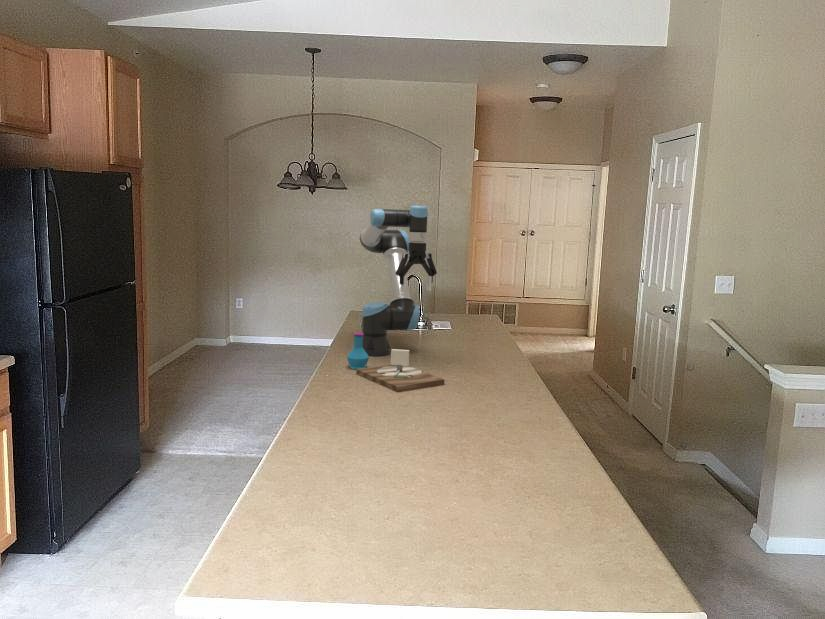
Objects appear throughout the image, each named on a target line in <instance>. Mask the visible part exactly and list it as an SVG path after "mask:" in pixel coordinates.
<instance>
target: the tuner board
mask: <svg viewBox="0 0 825 619" xmlns="http://www.w3.org/2000/svg"><path fill="white" fill-rule="evenodd" d="M355 371H356V372H355V373H356V375H358V376H360V377H362V378H364V379H367V380H369V381H372V382H374V383H376V384H379V385H381V386H383V387H385V388H387V389H390V390H392V391H394V392H396V393H401V392H407V391H413V390H418V389H425V388H426V389H427V388H430V387H431V388H432V387H437V386H444V385H445V381H446V380H445V379H444V378H441V377H439V376H436V375H434V374H430V373H428V372H426V371H423V370H421V369H419V368H416V367H412V366H410V365H408V366H403V371H402V372H399V373H398V374H397V376H394V375H395V373H396V372H397V365H391V364H387V365H386V364H385V365H379V366H369V367H366V368H361V369H355Z"/></svg>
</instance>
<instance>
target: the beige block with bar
mask: <svg viewBox="0 0 825 619" xmlns="http://www.w3.org/2000/svg"><path fill="white" fill-rule="evenodd" d="M409 360H410V350H409V349H398V348H397V349H396V348H391V349H390V365H397V372H396V373H395V375H394V376H397V374H398V373H399V372H402V371H403V366H410V363H409V362H410V361H409Z"/></svg>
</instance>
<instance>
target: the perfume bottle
mask: <svg viewBox="0 0 825 619" xmlns="http://www.w3.org/2000/svg"><path fill="white" fill-rule="evenodd" d="M352 335H353V337H354V338H353V348H352V349H351V350H350V352H349V353H348V354H347V356H346V358H347V359H346V360H347V362H348V365H350V366H349V369H352V370H356V369H361V368H367V367H366V365H368V362H369V359H370V356H368V354H367V353H366V352H365V350H364V349H363V347H362V346H363V335H364V334H363V333H362V331H355V332H353V334H352Z"/></svg>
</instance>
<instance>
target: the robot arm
mask: <svg viewBox="0 0 825 619" xmlns="http://www.w3.org/2000/svg"><path fill="white" fill-rule="evenodd" d="M428 212H429V211H428V206H425V205H411V206H410V207H409V209H391V208H390V209H389V208H374V209H372V210H371V211H370V216H369V219H370V221H369V222H370V223H369V224H368V226H367V227H365V228H364V229H362V231H360V232H361V233H360V235H359V241H360V242H359V243H360V245H361V246H362V247H363V248H364V249H365V250H367V251H368V252H371V253H374V254H383V258H384V259H385V260H386V261H387V270H388V276H389V285H390V294H391V301H390V302H389V303H388V302H386V301H377V302H369V303H366V304H365V305H364V306H362V311H361V313H362V314H361V332H362V333H363V334H364V335H363V346H362V347H363V349H364V350H365V352H366V353H367V354H368V356H369V357H381V356H388V355H391V347H390V343H389V341H388V336H387V335H388V331H414V330H416V329H417V327H418V325H419V320H420V306H419V305H417V304H415V301H414V299H412V298H411V294H410V288H409V281H408V272H409V270H410V269H411V268H412V266H414V265H421V267H422V268H423V269H424V271H425V272H426V273H427V275H426V283H425V284H426V286H425V291H427V292H431V291H432V284H433V280H434V277H435V275H437V274H438V272H437V269H436V267H435V263H434V261H433V256H432V253H431V252H427V243H426V242H427V239H428V238H427V237H428V236H427V234H428V232H427V231H428V217H429V216H428V215H429V213H428ZM389 227H392V228H408V229H409V231H408V233H409V234H408V233H407V232H406V231H405V230H402V229H388V228H389ZM426 252H427V253H426Z"/></svg>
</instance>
